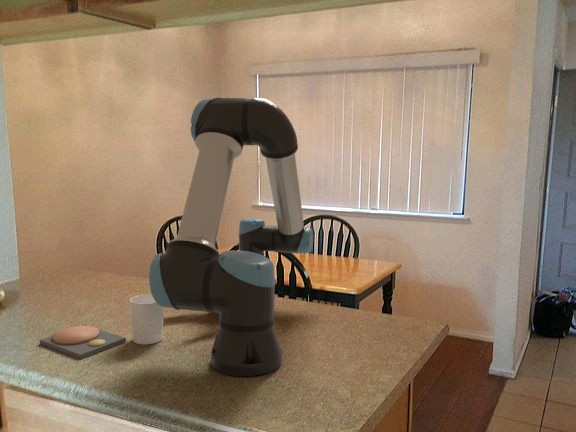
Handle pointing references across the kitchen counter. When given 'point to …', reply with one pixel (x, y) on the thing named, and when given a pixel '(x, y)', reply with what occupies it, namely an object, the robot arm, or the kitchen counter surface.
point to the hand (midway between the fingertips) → (177, 295)
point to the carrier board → (82, 341)
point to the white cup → (146, 319)
